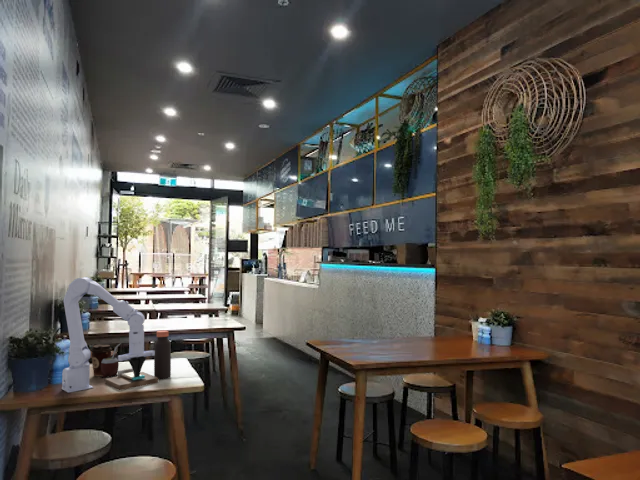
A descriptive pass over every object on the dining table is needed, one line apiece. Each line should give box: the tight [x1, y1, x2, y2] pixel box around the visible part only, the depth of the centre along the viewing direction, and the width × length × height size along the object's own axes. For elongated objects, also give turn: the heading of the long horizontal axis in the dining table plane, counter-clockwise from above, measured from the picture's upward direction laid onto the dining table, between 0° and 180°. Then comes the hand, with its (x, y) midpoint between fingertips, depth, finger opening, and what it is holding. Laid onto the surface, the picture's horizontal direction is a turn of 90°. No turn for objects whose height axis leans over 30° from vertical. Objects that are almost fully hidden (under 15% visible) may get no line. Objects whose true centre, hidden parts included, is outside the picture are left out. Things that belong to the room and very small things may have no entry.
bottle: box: [153, 329, 172, 380], centre depth 209 cm, size 7×7×20 cm
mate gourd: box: [101, 342, 122, 379], centre depth 211 cm, size 8×8×15 cm
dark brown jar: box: [90, 344, 113, 377], centre depth 214 cm, size 9×8×13 cm
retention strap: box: [121, 372, 145, 380], centre depth 200 cm, size 5×12×1 cm, turn 45°
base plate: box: [104, 367, 159, 391], centre depth 201 cm, size 16×14×4 cm
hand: (136, 375), depth 198 cm, fingers closed, pressing on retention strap
